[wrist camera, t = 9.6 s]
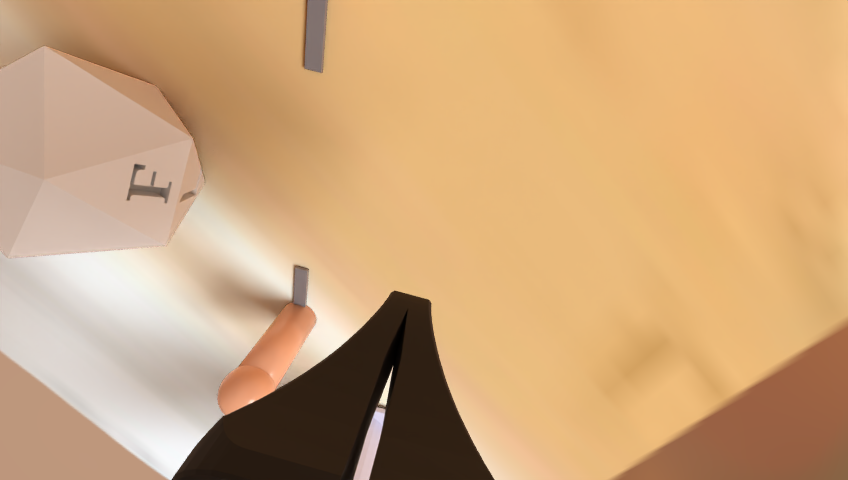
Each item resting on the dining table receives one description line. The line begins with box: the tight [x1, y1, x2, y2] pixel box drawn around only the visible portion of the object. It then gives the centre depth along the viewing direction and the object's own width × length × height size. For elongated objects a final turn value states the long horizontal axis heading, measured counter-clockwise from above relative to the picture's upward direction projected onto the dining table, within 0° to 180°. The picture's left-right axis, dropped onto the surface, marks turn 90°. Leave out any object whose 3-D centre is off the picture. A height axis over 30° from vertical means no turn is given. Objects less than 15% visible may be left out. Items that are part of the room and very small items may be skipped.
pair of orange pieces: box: [218, 0, 328, 415], centre depth 16 cm, size 23×3×8 cm, turn 167°
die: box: [0, 45, 205, 258], centre depth 16 cm, size 8×9×10 cm
